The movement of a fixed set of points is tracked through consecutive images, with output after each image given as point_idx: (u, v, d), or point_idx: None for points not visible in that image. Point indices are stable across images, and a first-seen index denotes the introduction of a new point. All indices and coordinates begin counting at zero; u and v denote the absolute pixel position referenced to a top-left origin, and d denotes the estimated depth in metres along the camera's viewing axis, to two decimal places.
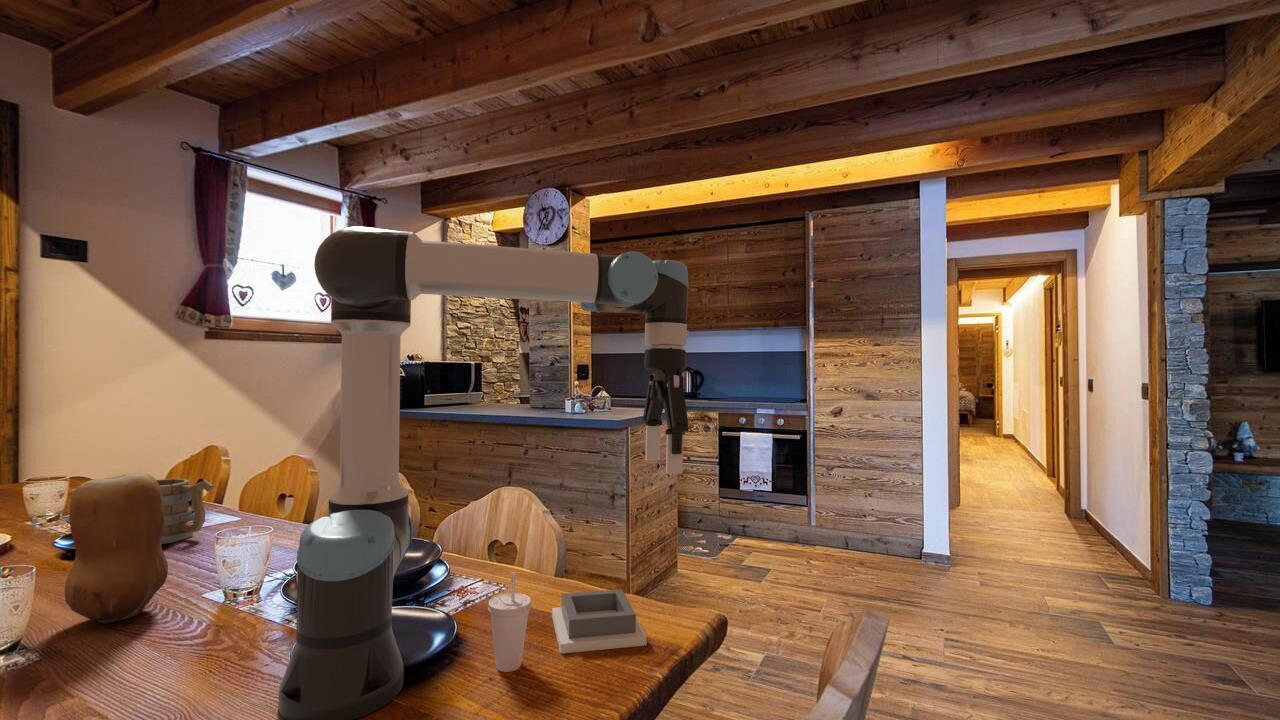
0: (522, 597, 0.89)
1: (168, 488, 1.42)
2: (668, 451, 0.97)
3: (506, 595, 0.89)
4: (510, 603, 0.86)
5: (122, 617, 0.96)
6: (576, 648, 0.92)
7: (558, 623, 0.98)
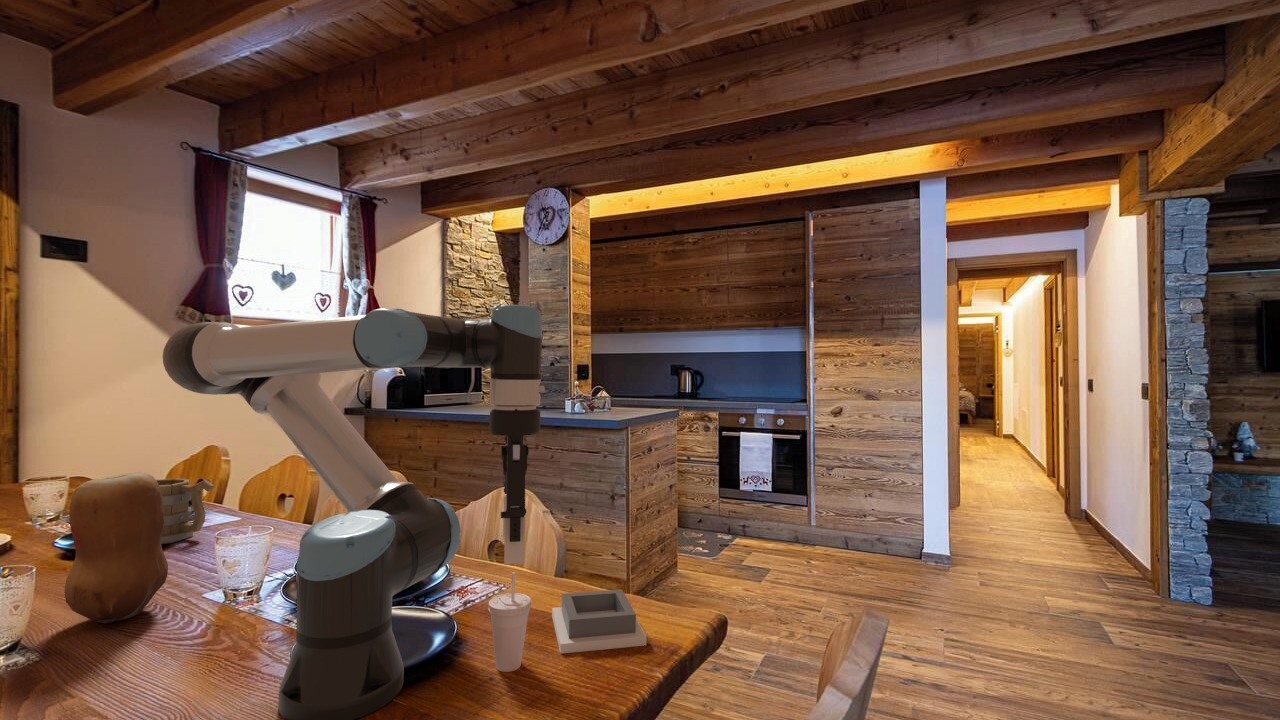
0: (522, 597, 0.89)
1: (168, 488, 1.42)
2: (505, 537, 0.80)
3: (506, 595, 0.89)
4: (510, 603, 0.86)
5: (122, 617, 0.96)
6: (576, 648, 0.92)
7: (558, 623, 0.98)
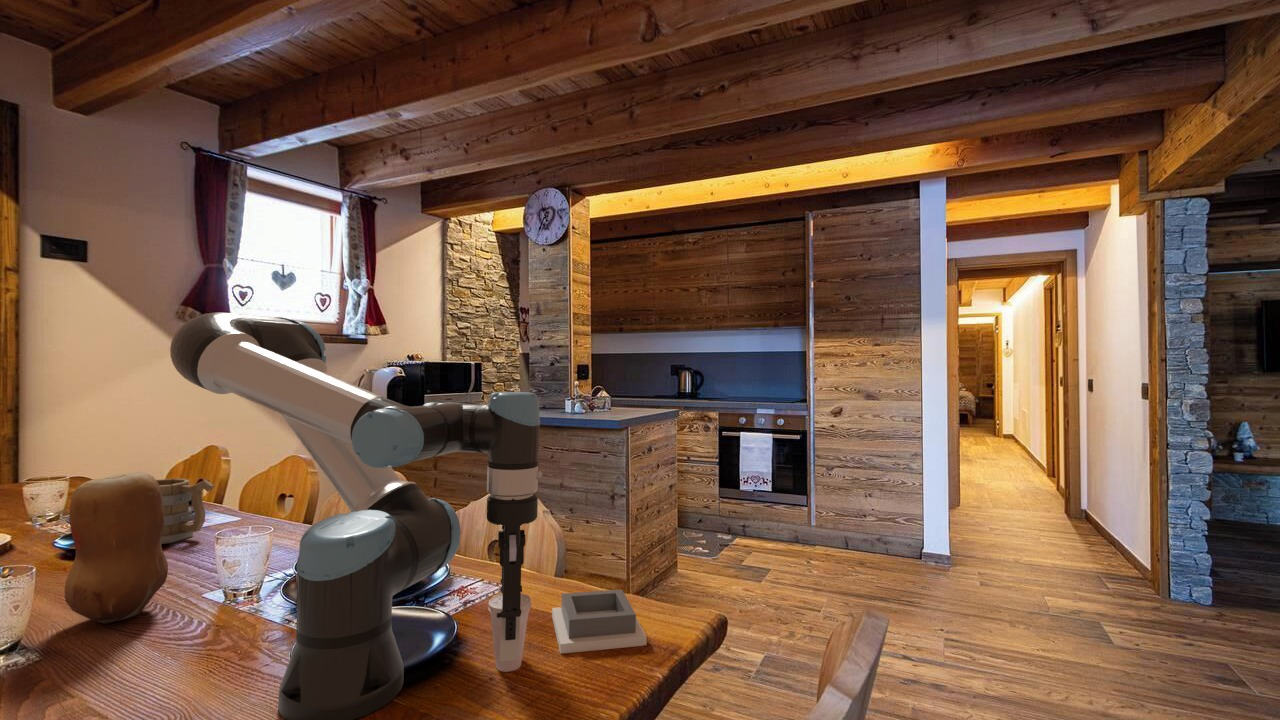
0: (522, 597, 0.89)
1: (168, 488, 1.42)
2: (501, 635, 0.83)
3: None
4: None
5: (122, 617, 0.96)
6: (576, 648, 0.92)
7: (558, 623, 0.98)
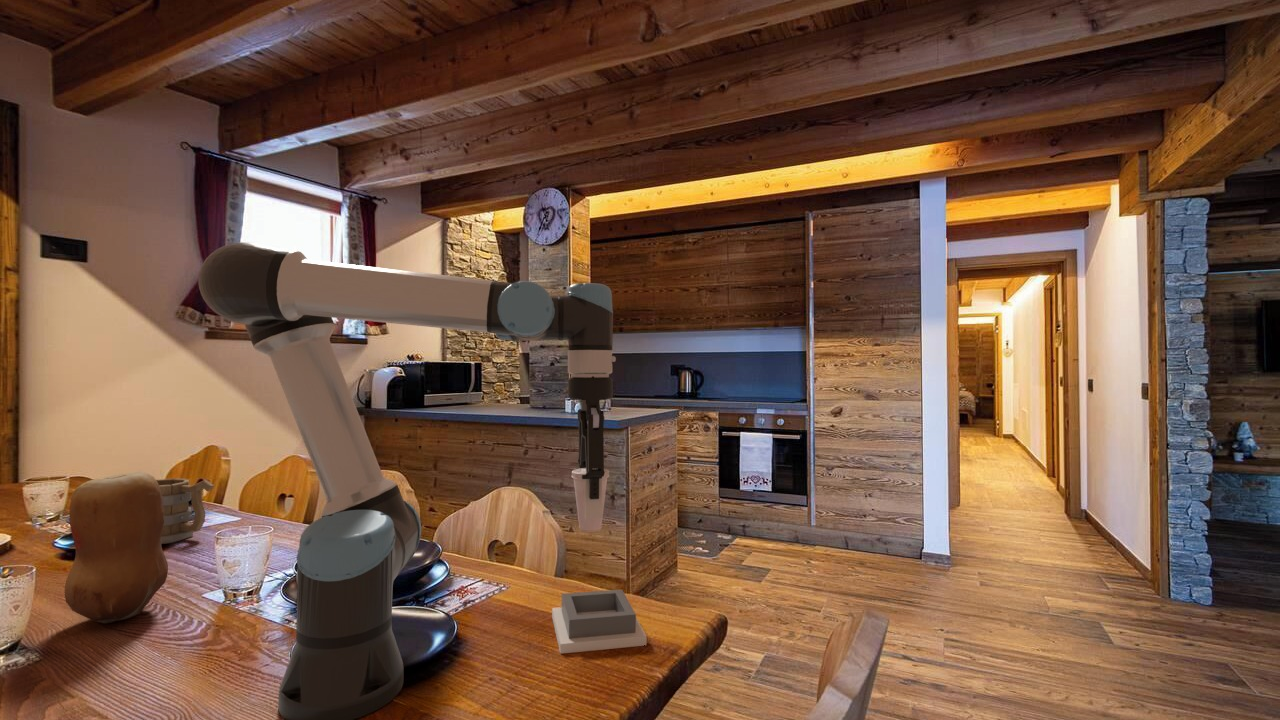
0: None
1: (167, 488, 1.42)
2: (586, 496, 0.94)
3: (585, 468, 1.00)
4: None
5: (122, 617, 0.96)
6: (576, 648, 0.92)
7: (558, 623, 0.98)
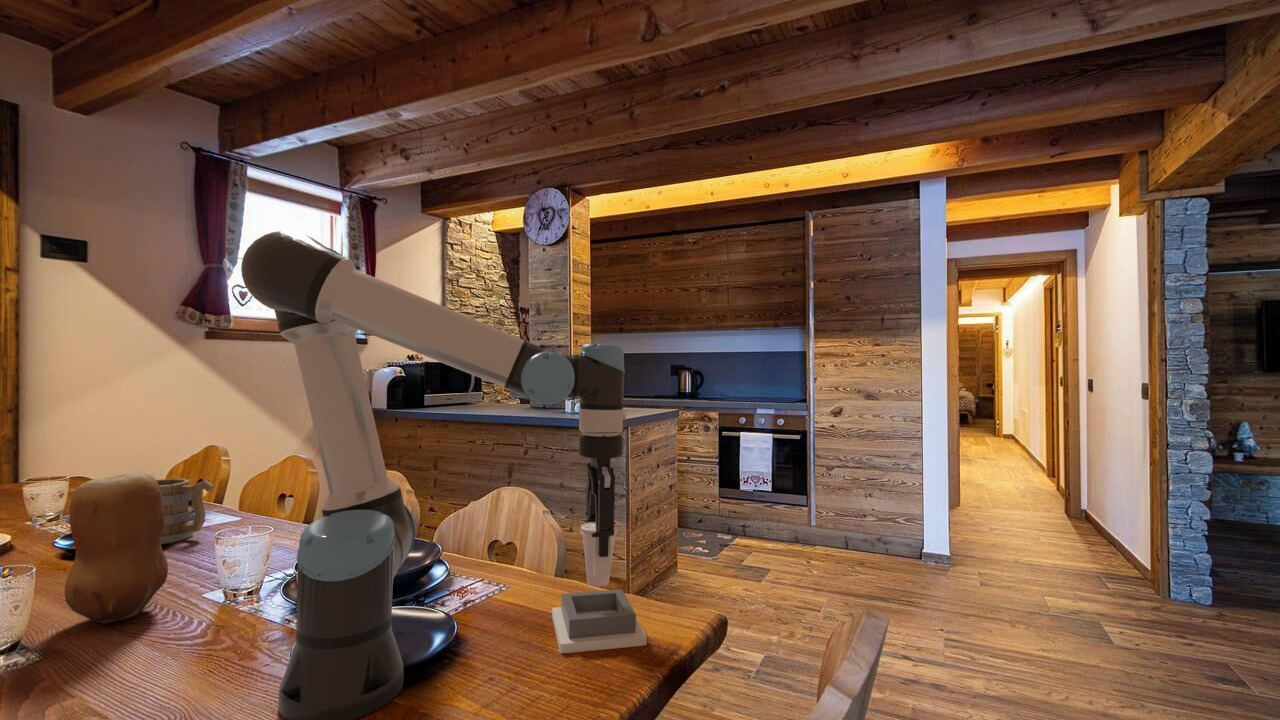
0: None
1: (167, 488, 1.42)
2: (595, 553, 0.96)
3: (594, 523, 1.02)
4: None
5: (122, 617, 0.96)
6: (576, 648, 0.92)
7: (558, 623, 0.98)
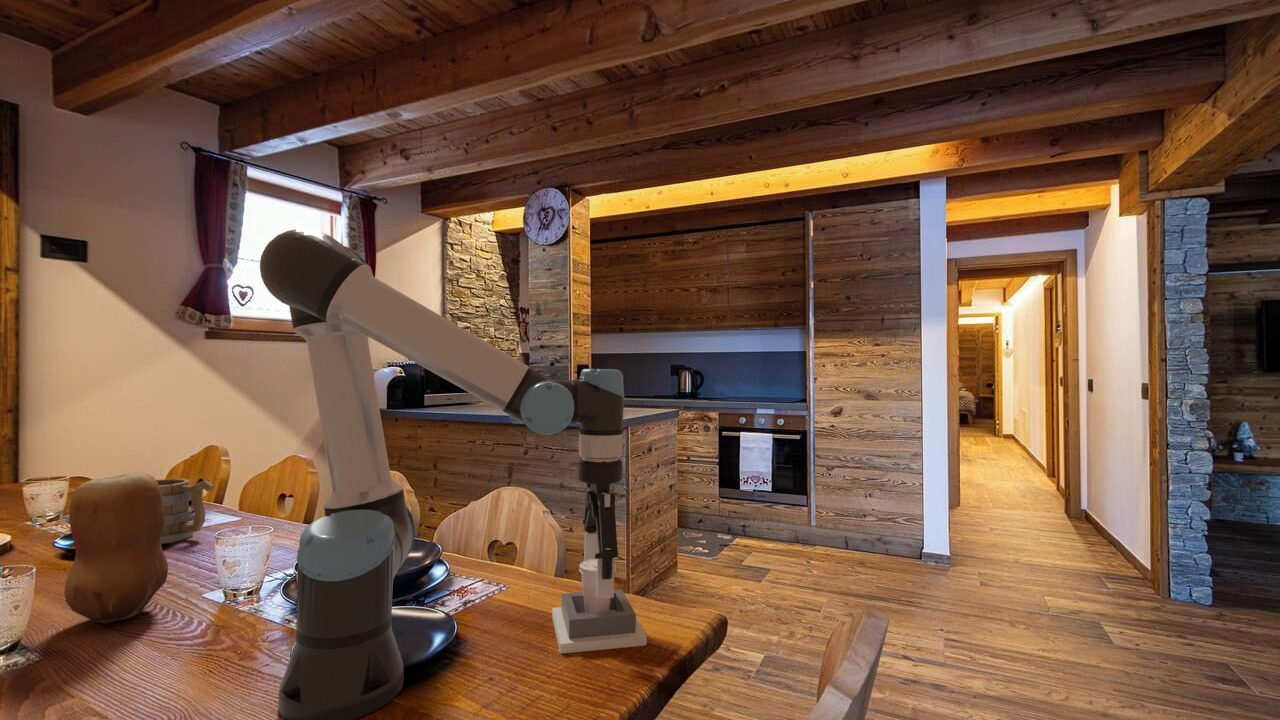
0: None
1: (168, 488, 1.42)
2: (598, 575, 0.92)
3: (592, 560, 1.02)
4: None
5: (122, 617, 0.96)
6: (576, 648, 0.92)
7: (558, 623, 0.98)
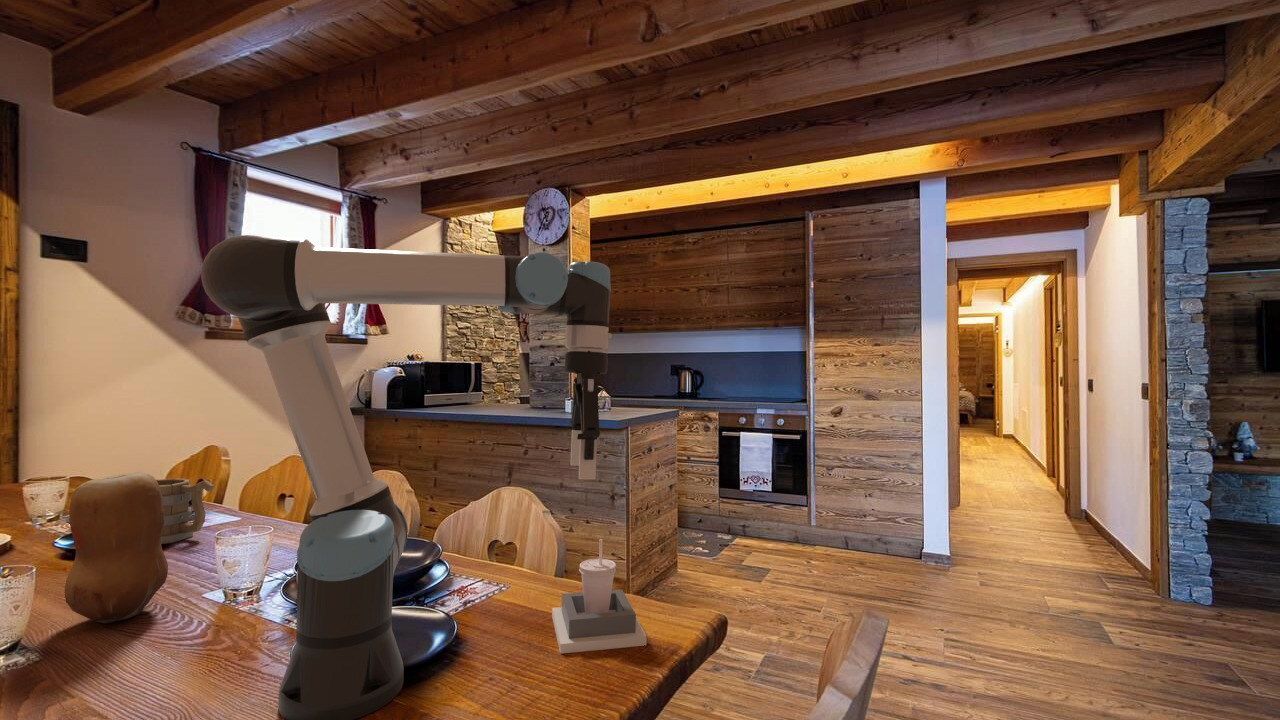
0: (607, 562, 1.01)
1: (168, 488, 1.42)
2: (580, 456, 0.94)
3: (592, 560, 1.02)
4: (599, 566, 0.98)
5: (122, 617, 0.96)
6: (576, 648, 0.92)
7: (558, 623, 0.98)
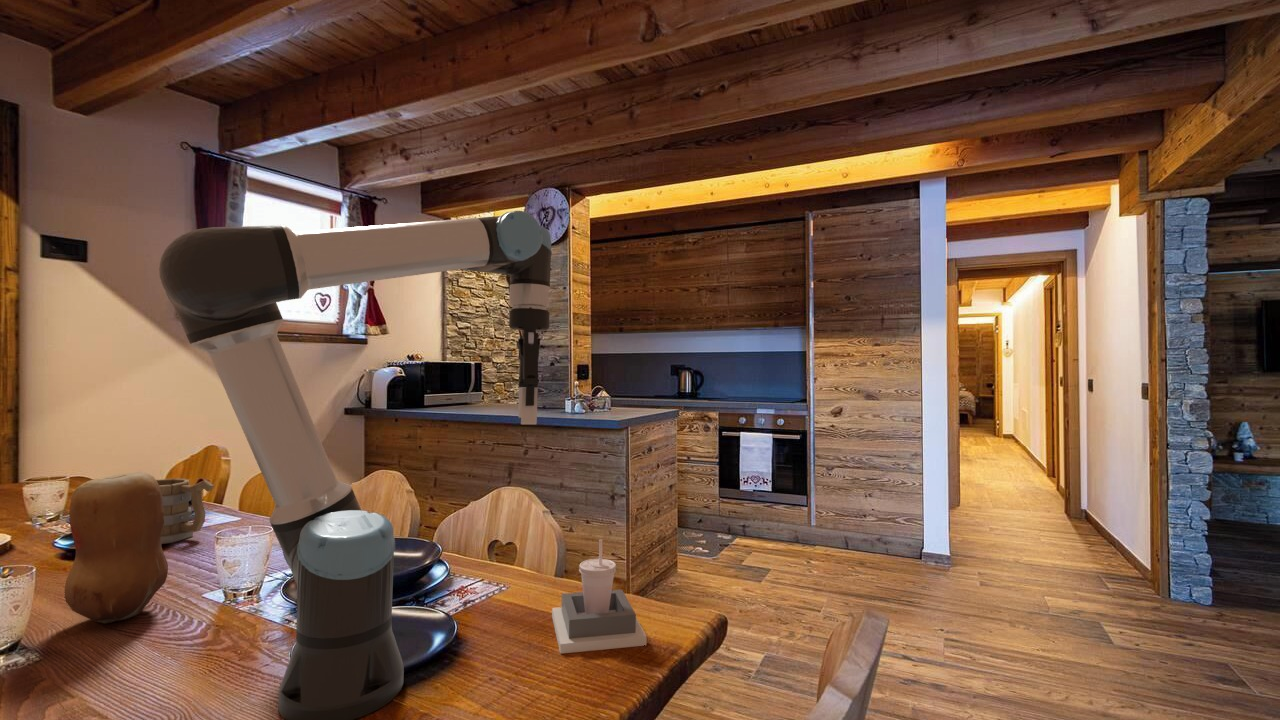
0: (607, 562, 1.01)
1: (168, 488, 1.42)
2: (522, 403, 1.03)
3: (592, 560, 1.02)
4: (599, 566, 0.98)
5: (122, 617, 0.96)
6: (576, 648, 0.92)
7: (558, 623, 0.98)
